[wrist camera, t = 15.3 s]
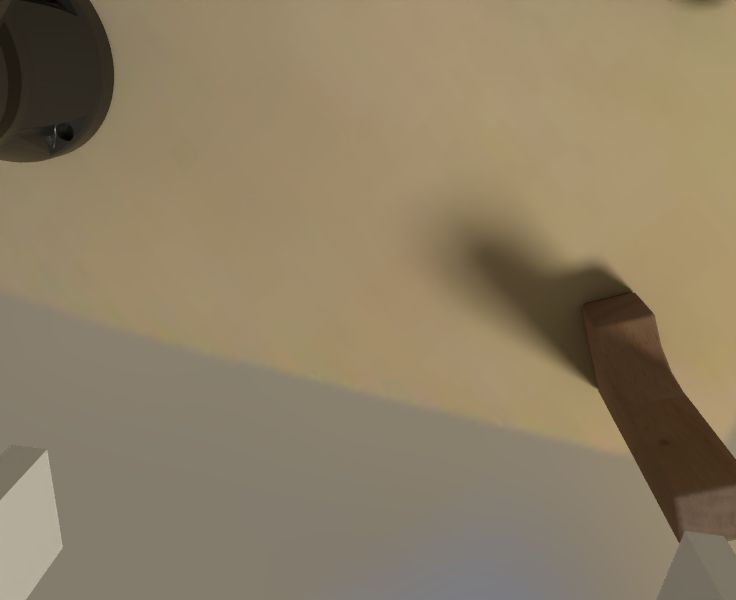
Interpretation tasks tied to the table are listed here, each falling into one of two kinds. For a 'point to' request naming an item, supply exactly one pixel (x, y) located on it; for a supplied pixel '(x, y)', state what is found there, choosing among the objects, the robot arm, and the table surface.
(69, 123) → the robot arm
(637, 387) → the wooden block
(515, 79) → the table surface
